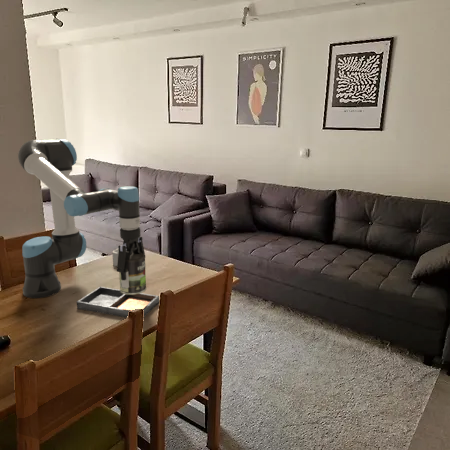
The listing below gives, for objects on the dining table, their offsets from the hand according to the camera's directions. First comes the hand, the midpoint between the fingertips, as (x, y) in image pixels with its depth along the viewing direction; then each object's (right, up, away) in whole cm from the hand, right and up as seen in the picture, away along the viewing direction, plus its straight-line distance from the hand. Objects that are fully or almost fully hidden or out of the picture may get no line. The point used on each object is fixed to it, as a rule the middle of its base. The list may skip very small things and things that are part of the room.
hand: (132, 281), depth 152 cm
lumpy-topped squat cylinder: (-15, +2, +50) cm, 53 cm away
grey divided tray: (-7, -10, +5) cm, 13 cm away
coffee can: (0, -3, +1) cm, 4 cm away
